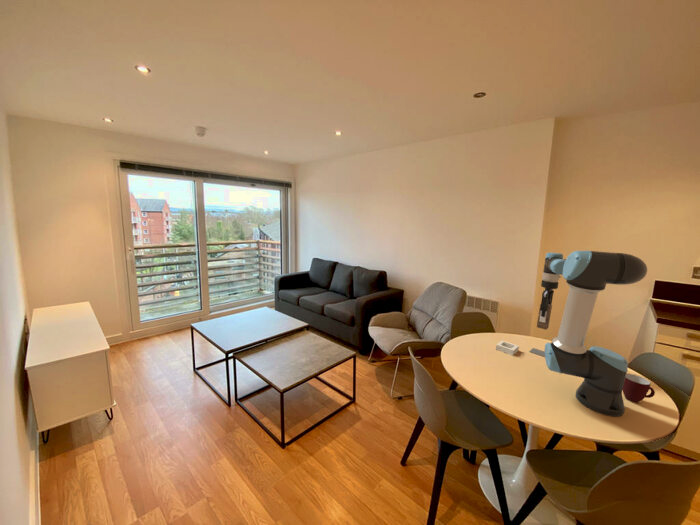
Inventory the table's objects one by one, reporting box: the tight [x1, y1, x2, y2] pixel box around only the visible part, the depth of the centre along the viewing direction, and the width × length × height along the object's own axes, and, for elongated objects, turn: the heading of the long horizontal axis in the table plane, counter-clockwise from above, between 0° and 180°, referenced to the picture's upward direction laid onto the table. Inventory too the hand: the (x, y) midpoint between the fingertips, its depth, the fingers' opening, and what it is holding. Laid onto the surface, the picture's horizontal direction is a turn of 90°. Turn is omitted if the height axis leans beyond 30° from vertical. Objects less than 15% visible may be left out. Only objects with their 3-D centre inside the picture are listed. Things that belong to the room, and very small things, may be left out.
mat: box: [528, 347, 545, 358], centre depth 157 cm, size 7×7×1 cm
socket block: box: [495, 340, 520, 357], centre depth 158 cm, size 9×9×3 cm
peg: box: [536, 303, 553, 331], centre depth 153 cm, size 4×4×14 cm
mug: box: [622, 373, 656, 404], centre depth 116 cm, size 11×8×10 cm
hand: (543, 320), depth 154 cm, fingers closed on peg, 4 cm apart
